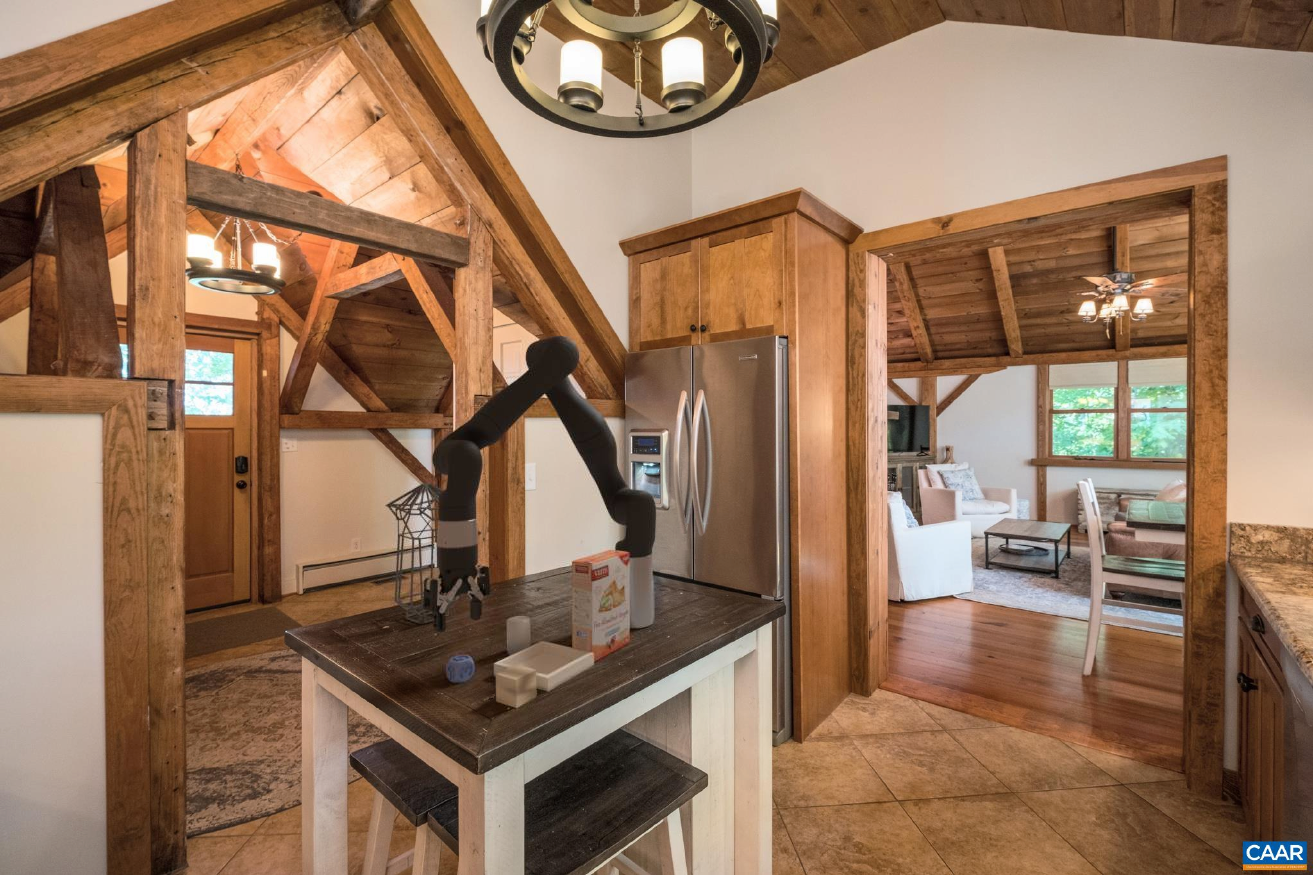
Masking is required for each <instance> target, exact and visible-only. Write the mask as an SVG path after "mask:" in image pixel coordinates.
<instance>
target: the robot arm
mask: <svg viewBox="0 0 1313 875" xmlns="http://www.w3.org/2000/svg"><path fill="white" fill-rule="evenodd" d="M579 361H580V352H579V348H578V345H577V344H576V343H575V342H574V340H572V339H571V338H569V337H567V336H564V335H563V336H562V335H555V336H549V337H546V338H542V339H539V340H536V341H534V342H532V343H530V344H529V345H528V347H527V348H526V352H525V363H526V366H527V368H528V370H526V371H525V372H524V373H523V374H522V375H520V376H519V377H518V378H517V379H515V380H514V381H513V382H511V383H510V384H508V385H507V386H505V387H504V388H502V389H501V390H500V391H498V392H497V393H496V394H495V395H493V396H492V397H491V398H490V399H488V401H486V402H485V403H484V404H483V406H482V407H480V408H479V409H478V410H477V411H476V412H475V413H474V414H473V416H472V417H471V418H470V419H469V420H468V421H466V422H465V423H463V424H462V425H460V426H459V427H458V428H456V429H455V430H453V431H452V432H451V433H450V434H448V435H446V437H444V438H443V439H442V440H441V441H440V442H439V443H438V445H436V447H435V449H434V450H433V452H432V458H431V460H432V462H431V463H432V464H433V467H434V469H435V470H436V471H437V472H438V473H440V474H442V475H444V476H447V480H446V488H445V489H442V490H443V491H442V492H441V493H440V495H439V496H438V497H439V501H438V503H437V506H438V507H437V508H438V510H437V512H438V514H437V515H438V517H437V518H438V519H439V520H437V521H438V522H437V529H438V530H437V531H436V532H437V533H436V536H437V537H436V538H437V539H436V540H437V541H436V542H437V543H436V544H437V545H436V546H437V547H436V548H437V550H436V551H437V553H436V554H437V556H436V557H437V559H436V560H437V561H436V562H437V567H438V571H439V575H438V576H437V577H435V578H434V577H433V579H431V577H425V579H424V581H423V592H424V594H423V609H424V610H426V612H432V613H431V614H432V619H433V621H432V627H433V629H434V631H435V632H437V633H444V632H446V627H447V626H446V617H445V615H446V614H445V612H446V610H445V609H446V608H447V606H449V604H450V603H452V602H451V601H452V600H453V599H454V596H455V597H456V596H459V597H460V595H462V594H463V595H465V594H468V596H469V597H470V599H471V600H469V602H470V603H469V607H470V608H469V611H470V612H469V613H470V614H469V617H470V619H471V620H473V621H478V620H480V619H481V618H482V613H483V612H482V611H483V610H482V608H483V607H482V605H483V603H482V602H483V600H484V598H485V597H486V596H490V594H491V582H490V581H491V579H490V568H489V567H490V566H487V565H480V564H479V529H478V521H477V494H478V492H479V491H478V490H479V487H480V482H481V478H482V477H481V476H482V473H483V462H484V461H483V456H482V451H481V450H483V449H484V448H487V447H490V446H493V445H495V444H496V443H497V442H499V440H501V439H502V437H503V436H505V434H506V433H507V432H508V431H509V430H510V429H511V428H512V427H513V426H514V424H516V423H517V421H518V420H519V419H520V418H521V417H522V416H523V415H524V414H525V413H526V412H527V411H528V410H529V409H530V408H531V407H532V406H533V405H534V404H535V403H537V402H538V400H540V399H541V398H542V397H543V396H544V395H545V396H546V398H547V399H548V401H549V402H550V404H551V406H552V407H553V408H554V410H555V413H556V414H557V416H558V417H559V419H560V422H561V423H562V424H563V426H564V429H565V430H566V433H567V434H568V435H569V438H570V439H571V442H572V444H573V445H574V448H575V449H576V451H577V453H578V454H579V456H580V457H581V459H582V461H583V462H584V464H585V466H586V468H587V470H588V471H589V474H590V475H591V477H592V479H593V481H594V483H595V485H596V486H597V489H598V491H599V494H600V496H601V498H602V501H603V503H604V505H605V508H606V510H607V511H606V512H608V514H609V517H610V518H611V519H612V521H614V522H615V523H616V524H618V525H621V526H623V527H624V526H625V536H624V538H623V539H621V540H619V541H617V542H616V543H615V546H614V550H616V551H625V552H629V553H630V629H642V628H646V627H649V626H652V625H653V624H654V621H655V582H654V581H653V580H654V577H653V547H654V544H655V541H656V532H657V531H656V529H657V528H656V527H657V526H656V524H657V506H656V501H655V499H654V497H653V495H652V494H651V493H650V492H648V491H645V490H641V489H631V488H630V487H629V486H628V484H627V483H626V481H625V480H624V478H623V476H622V474H621V472H620V469H619V466H618V448H617V441H616V438H615V436H614V434H613V433H612V430H611V429H610V426H609V424H608V422H607V421H606V419H605V418H604V416H603V415H602V414H601V412H600V411H599V409H597V408H596V407H594V406H593V404H591V403H590V401H589V400H587V399H586V398H584V397H583V396H582V395H581V394H580V393H579V392H578V391H577V388H576V387H575V386H574V385H573V384H572V382H571V380H570V378H569V376H570V375H571V374H572V373H574V372H575V370H576V368H578V365H579ZM475 580H476V581H475ZM440 586H441V587H440ZM445 593H446V594H445ZM441 602H442V603H441ZM423 609H422V610H423Z"/></svg>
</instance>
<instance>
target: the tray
mask: <svg viewBox="0 0 1313 875" xmlns="http://www.w3.org/2000/svg"><path fill="white" fill-rule="evenodd" d="M516 664H517V665H521V666H524V667H528V668H532V669H535V670H536V688H537V689H538V690H541V691H544V692H550V691H551V690H554V689H555V688H557V687H558V686H560V685H562V684H564V683H565V682H567V681H569V680H571V679H573V678H574V677H576V676H578V675H579V674H581V673H583V672H585V671H586V670H588V669H590V668H591V667H593V666H595V662H594V653H592V652H588V651H584V650H579V649H575V648H572V646H571V647H570V646H566V645H561V644H557V643H553V642H549V641H543V640H542V641H539V642H537V643H535V644H533V645H531V646H530V647H528V648H526V649H524V650H522V651H520V652H517V653H515V654H513V655H509V656H507V657H505V658H502V659H501V660H498V661H496V662H494V663H493V677H496V674H497V673H499V672H501V671H503V670H505V669H507V668H509V667H512V666H514V665H516Z"/></svg>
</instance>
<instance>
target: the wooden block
mask: <svg viewBox="0 0 1313 875" xmlns="http://www.w3.org/2000/svg"><path fill="white" fill-rule="evenodd" d="M535 698H537V688H536V670H535V669H532V668H528V667H524V666H521V665H517V664H516V665H514V666H512V667H509V668H507V669H505V670H503V671H501V672H499V673H497V674H496V676H495V701H496V702H497V703H500V704H503V705H506V706H508V707H511V708H512V707H513V708H515V709H518V708H519V707H521V706H522V705H524V704H527V703H528V702H530V701H532V700H533V699H535Z"/></svg>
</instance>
